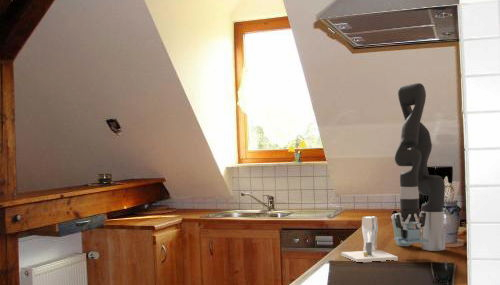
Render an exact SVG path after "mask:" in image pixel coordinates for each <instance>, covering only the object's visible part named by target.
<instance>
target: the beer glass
mask: <svg viewBox="0 0 500 285" xmlns="http://www.w3.org/2000/svg"><path fill="white" fill-rule="evenodd" d="M361 218H362V219H361V232H362V237H363V248H362V251H366V242H372V251H374V250H378V248H377V237H378V229H379V227H378V226H379V225H378V224H379V223H378V216H371V215H369V216H368V215H367V216H366V215H363V216H362V217H361Z"/></svg>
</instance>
